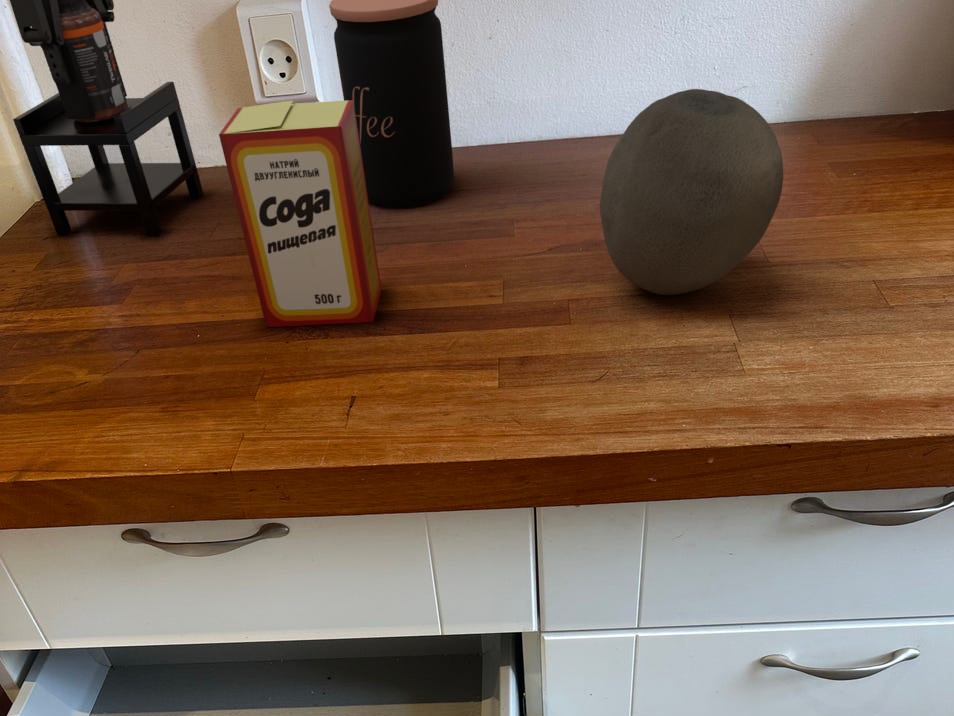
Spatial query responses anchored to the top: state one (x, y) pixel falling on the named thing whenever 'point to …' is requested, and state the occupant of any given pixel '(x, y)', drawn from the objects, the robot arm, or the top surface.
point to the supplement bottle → (93, 58)
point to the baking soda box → (304, 211)
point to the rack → (107, 181)
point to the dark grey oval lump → (689, 190)
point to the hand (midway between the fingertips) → (98, 106)
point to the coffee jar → (396, 97)
